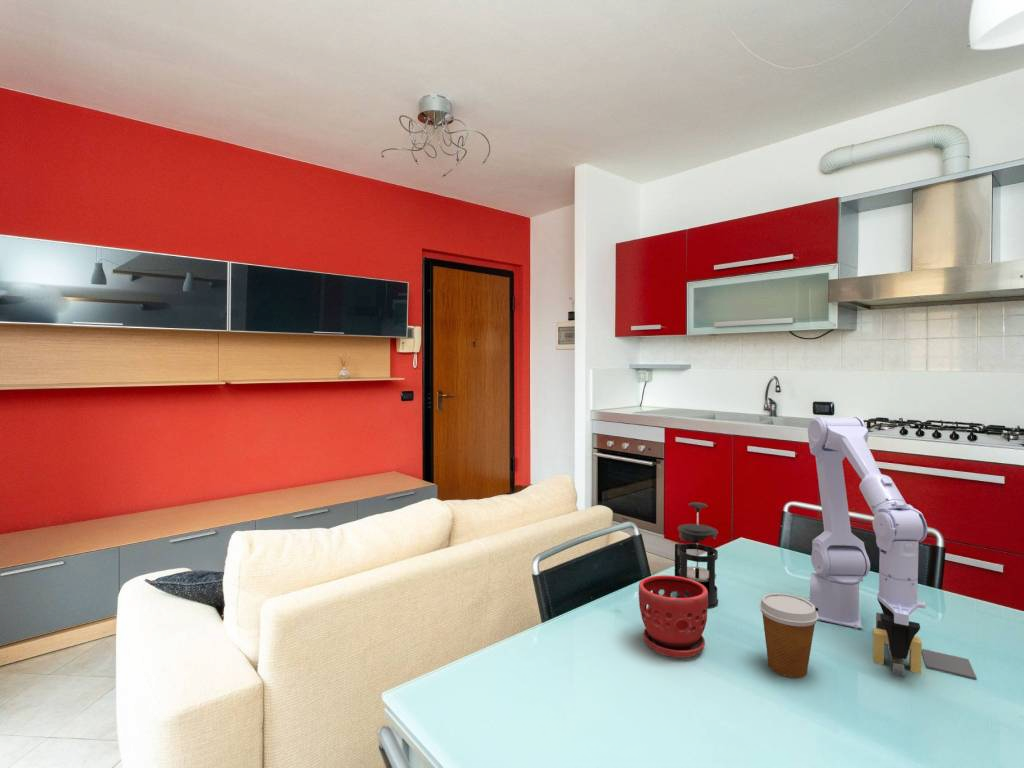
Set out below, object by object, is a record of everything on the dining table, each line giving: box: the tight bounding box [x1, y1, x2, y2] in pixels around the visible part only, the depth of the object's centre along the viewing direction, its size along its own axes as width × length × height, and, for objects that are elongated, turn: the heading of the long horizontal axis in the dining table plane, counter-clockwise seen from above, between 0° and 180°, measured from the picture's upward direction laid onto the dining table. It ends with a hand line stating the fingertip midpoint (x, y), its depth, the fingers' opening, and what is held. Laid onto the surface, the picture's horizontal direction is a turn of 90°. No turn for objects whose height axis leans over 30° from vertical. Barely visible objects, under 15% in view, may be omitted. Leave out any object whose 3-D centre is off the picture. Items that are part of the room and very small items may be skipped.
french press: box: [674, 501, 719, 610], centre depth 124 cm, size 12×9×23 cm
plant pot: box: [638, 574, 709, 658], centre depth 104 cm, size 13×13×12 cm
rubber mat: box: [922, 648, 978, 681], centre depth 97 cm, size 7×7×1 cm
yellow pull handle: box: [872, 627, 923, 674], centre depth 97 cm, size 7×2×6 cm, turn 58°
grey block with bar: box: [875, 612, 905, 677], centre depth 101 cm, size 5×17×5 cm, turn 148°
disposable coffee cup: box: [758, 592, 818, 679], centre depth 96 cm, size 10×10×12 cm
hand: (896, 647), depth 97 cm, fingers open, 7 cm apart
